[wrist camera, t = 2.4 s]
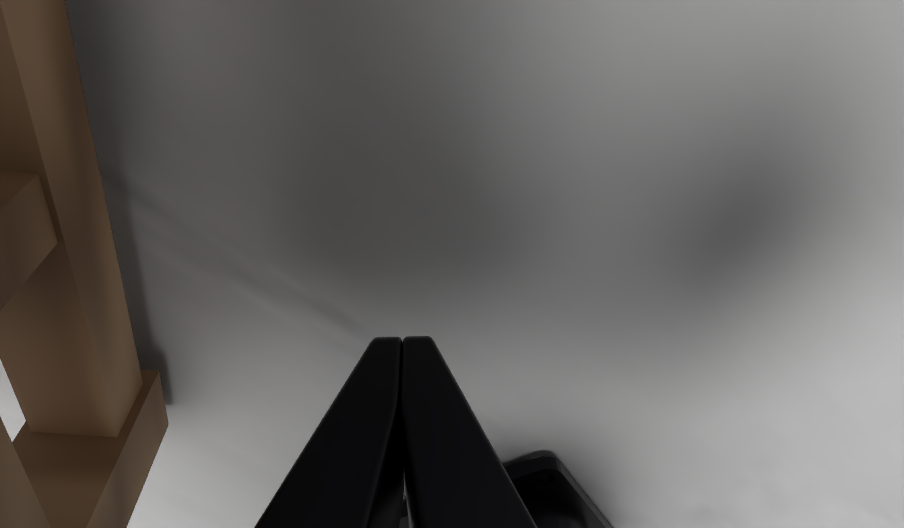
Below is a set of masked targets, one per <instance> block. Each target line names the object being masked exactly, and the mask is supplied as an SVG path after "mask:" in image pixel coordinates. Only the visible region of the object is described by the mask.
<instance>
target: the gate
mask: <svg viewBox="0 0 904 528" xmlns="http://www.w3.org/2000/svg"><path fill="white" fill-rule="evenodd" d="M0 359H1V361H2V364H3V366H4V368H5V371H6V373H7V376H8V378H9V380H10V383H11V385H12V388H13V390H14V393H15V395H16V397H17V400H18V402H19V405H20V407H21V409H22V412H23V414H24V417H25V419H26V422H25V424H24V425H23V427H22V428H21V430H20V431H19V433H18V434H17V436H16V437H15V439H14V441H13V442H12V441H11V439H10V437H9V435H8V433H7V431H6V428H5V426H4V424H3V422H2V420H1V417H0V528H126V527H127V525H128V522H129V520H130V518H131V515H132V513H133V510H134V508H135V505H136V503H137V500H138V498H139V496H140V493H141V491H142V488H143V486H144V483H145V481H146V478H147V476H148V473H149V471H150V469H151V466H152V464H153V461H154V459H155V456H156V454H157V451H158V449H159V446H160V444H161V442H162V439H163V437H164V434H165V432H166V429H167V427H168V419H167V414H166V408H165V402H164V397H163V391H162V385H161V379H160V374H159V371H155V370H144V369H140V366H139V361H138V356H137V352H136V347H135V342H134V337H133V332H132V327H131V322H130V317H129V312H128V308H127V303H126V298H125V293H124V288H123V283H122V278H121V273H120V268H119V264H118V259H117V254H116V249H115V244H114V239H113V234H112V229H111V224H110V220H109V215H108V210H107V205H106V200H105V195H104V190H103V185H102V180H101V176H100V171H99V166H98V161H97V156H96V151H95V146H94V141H93V136H92V132H91V127H90V122H89V117H88V112H87V107H86V102H85V97H84V92H83V88H82V83H81V78H80V73H79V68H78V63H77V58H76V53H75V48H74V44H73V39H72V34H71V29H70V24H69V19H68V14H67V9H66V4H65V0H0Z"/></svg>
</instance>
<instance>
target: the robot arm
mask: <svg viewBox="0 0 904 528" xmlns="http://www.w3.org/2000/svg"><path fill="white" fill-rule="evenodd" d="M404 473H405V487H406V498H407V504H405V505H402V503H403V493H404ZM254 528H612V527H611V526H610V524H609V523H608V522H607V521H606V519H605V518H604V517H603V515H602V514H601V513H600V512H599V510H598V509H597V508H596V507H595V505H594V504H593V503H592V502H591V500H590V499H589V498H588V497H587V495H586V494H585V493H584V492H583V490H582V489H581V488H580V486H579V485H578V484H577V483H576V481H575V480H574V479H573V478H572V476H571V475H570V474H569V473H568V471H567V470H566V469H565V468H564V466H563V465H562V464H561V462H560V461H559V460H557V459H556V458H554V457H550V456H543V457H539V458H535V459H532V460H529V461H527V462H524V463H521V464H518V465H515V466H512V467H510V468H507V469H504V467H503V465H502V463H501V461H500V460H499V458H498V456H497V454H496V452H495V451H494V449H493V447H492V445H491V443H490V442H489V440H488V438H487V436H486V434H485V433H484V431H483V429H482V427H481V425H480V424H479V422H478V420H477V418H476V416H475V415H474V413H473V411H472V409H471V407H470V405H469V404H468V402H467V400H466V398H465V396H464V395H463V393H462V391H461V389H460V387H459V386H458V384H457V382H456V380H455V378H454V377H453V375H452V373H451V371H450V369H449V368H448V366H447V364H446V362H445V360H444V359H443V357H442V355H441V353H440V351H439V349H438V348H437V346H436V344H435V342H434V341H433V339H432V338H431V337H429V336H409V337H405V338H404V339H403V343H402V340H401V338H399V337H377V338H374V339H373V340H372V341H371V342H370V344H369V346H368V347H367V349H366V350H365V352H364V354H363V355H362V357H361V358H360V360H359V362H358V363H357V365H356V366H355V368H354V369H353V371H352V373H351V374H350V376H349V377H348V379H347V381H346V382H345V384H344V385H343V387H342V389H341V390H340V392H339V393H338V395H337V397H336V398H335V400H334V401H333V403H332V405H331V406H330V408H329V409H328V411H327V412H326V414H325V416H324V417H323V419H322V420H321V422H320V424H319V425H318V427H317V428H316V430H315V432H314V433H313V435H312V436H311V438H310V440H309V441H308V443H307V444H306V446H305V448H304V449H303V451H302V452H301V454H300V456H299V457H298V459H297V460H296V462H295V463H294V465H293V467H292V468H291V470H290V471H289V473H288V475H287V476H286V478H285V479H284V481H283V483H282V484H281V486H280V487H279V489H278V491H277V492H276V494H275V495H274V497H273V499H272V500H271V502H270V503H269V505H268V506H267V508H266V510H265V511H264V513H263V514H262V516H261V518H260V519H259V521H258V522H257V524H256V526H255V527H254Z"/></svg>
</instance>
